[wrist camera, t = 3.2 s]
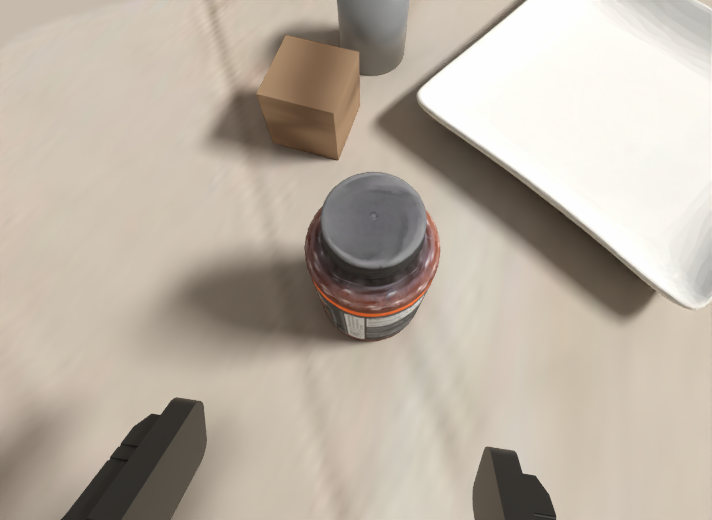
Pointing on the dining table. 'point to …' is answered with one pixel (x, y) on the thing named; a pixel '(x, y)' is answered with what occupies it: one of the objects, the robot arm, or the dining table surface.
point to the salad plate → (601, 124)
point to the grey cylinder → (374, 32)
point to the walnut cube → (311, 96)
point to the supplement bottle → (372, 255)
